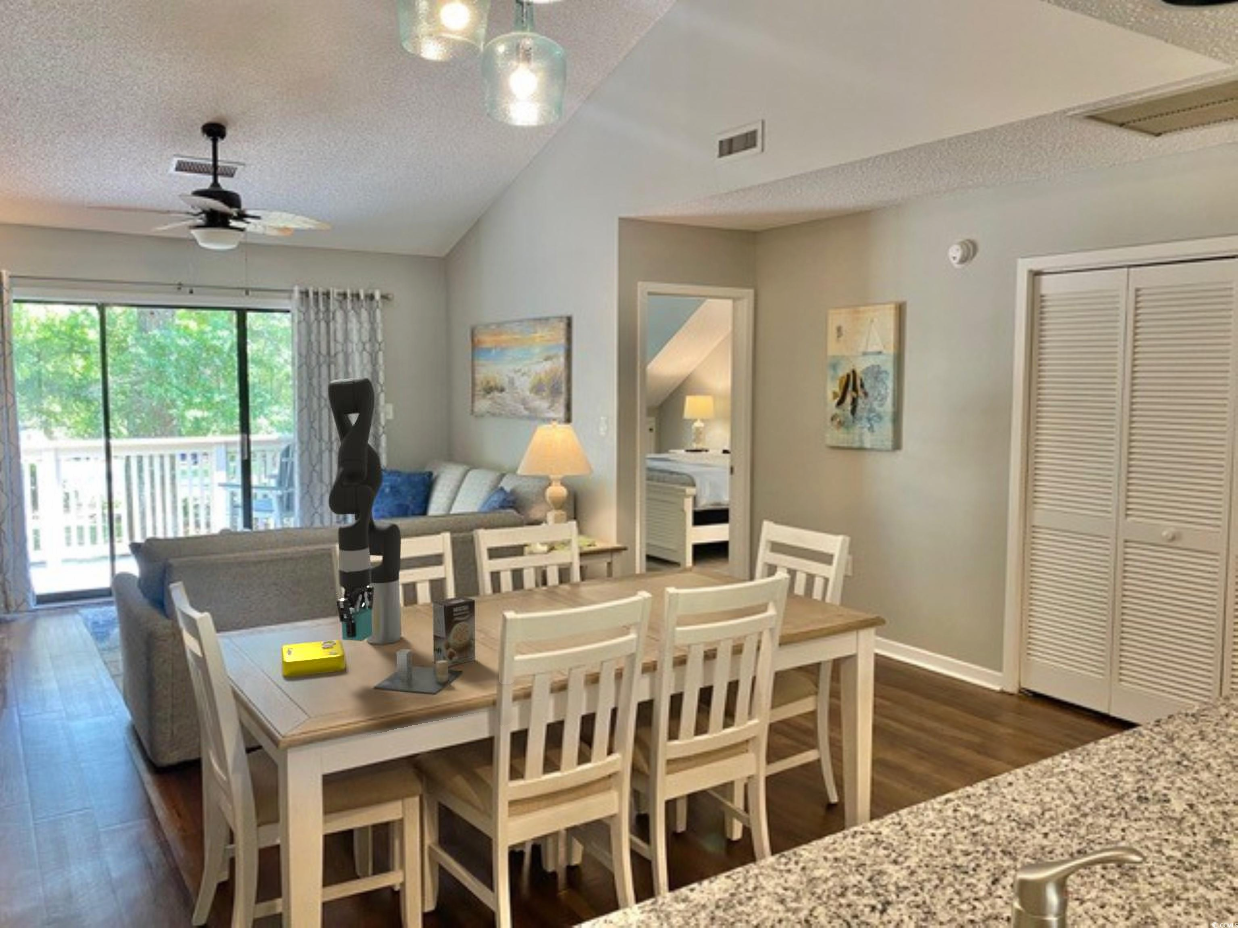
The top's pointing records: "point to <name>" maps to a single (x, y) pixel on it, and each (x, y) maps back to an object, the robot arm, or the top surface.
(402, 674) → the grey square base plate
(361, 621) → the teal toy cube
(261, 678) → the top surface
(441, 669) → the birch peg
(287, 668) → the element tile
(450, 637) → the coffee box
